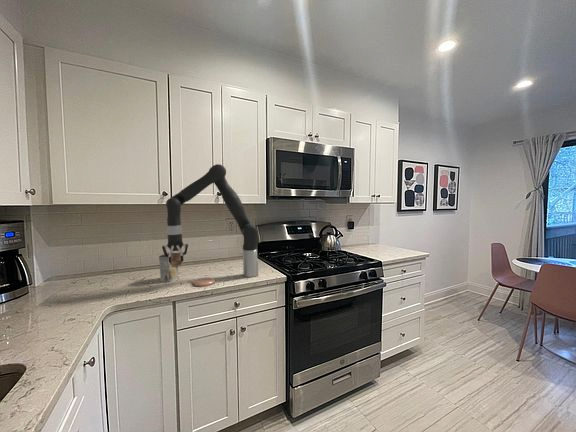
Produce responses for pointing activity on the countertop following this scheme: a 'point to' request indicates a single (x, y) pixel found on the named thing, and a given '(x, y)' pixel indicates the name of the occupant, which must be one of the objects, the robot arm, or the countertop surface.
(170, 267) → the coffee box
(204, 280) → the dish
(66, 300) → the countertop surface
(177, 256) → the walnut block
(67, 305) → the countertop surface
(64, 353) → the countertop surface
